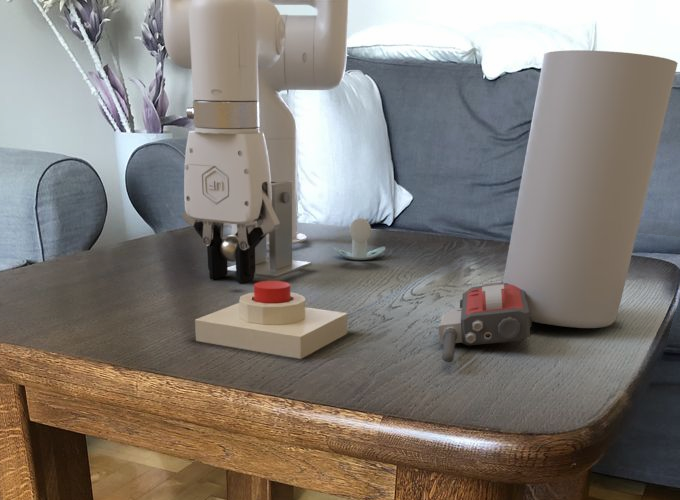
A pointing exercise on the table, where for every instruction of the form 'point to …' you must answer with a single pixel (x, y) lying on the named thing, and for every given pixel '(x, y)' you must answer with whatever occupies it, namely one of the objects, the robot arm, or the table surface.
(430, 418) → the table surface
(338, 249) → the pacifier
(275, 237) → the switch bracket
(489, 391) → the table surface
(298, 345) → the button housing
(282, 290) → the button
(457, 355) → the table surface
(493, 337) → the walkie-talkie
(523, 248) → the cylinder vase
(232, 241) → the switch lever
